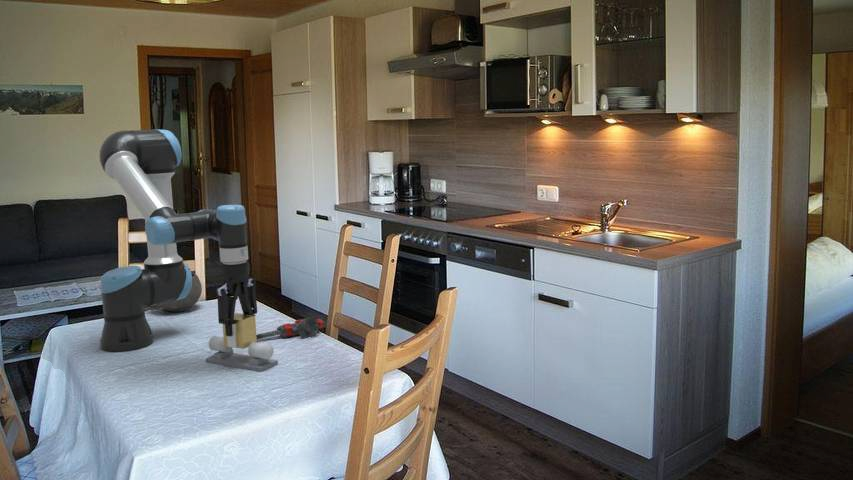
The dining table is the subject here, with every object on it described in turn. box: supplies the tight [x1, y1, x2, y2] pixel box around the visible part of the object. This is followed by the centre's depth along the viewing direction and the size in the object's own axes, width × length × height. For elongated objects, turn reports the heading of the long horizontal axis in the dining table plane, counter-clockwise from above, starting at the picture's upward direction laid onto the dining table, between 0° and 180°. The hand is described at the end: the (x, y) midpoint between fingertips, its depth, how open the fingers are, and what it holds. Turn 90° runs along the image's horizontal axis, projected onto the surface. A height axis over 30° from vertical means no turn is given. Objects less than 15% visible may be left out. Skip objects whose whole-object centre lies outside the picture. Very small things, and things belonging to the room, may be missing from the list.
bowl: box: [156, 271, 203, 313], centre depth 266 cm, size 18×18×13 cm
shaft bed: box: [205, 335, 279, 373], centre depth 206 cm, size 20×7×6 cm, turn 62°
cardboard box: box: [222, 312, 258, 350], centre depth 205 cm, size 7×6×8 cm
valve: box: [256, 317, 325, 340], centre depth 232 cm, size 6×26×15 cm
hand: (240, 343), depth 205 cm, fingers closed on cardboard box, 5 cm apart
